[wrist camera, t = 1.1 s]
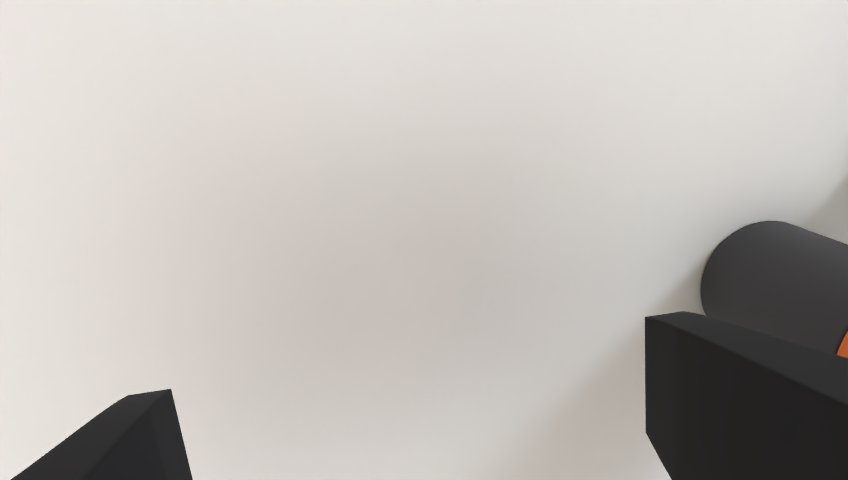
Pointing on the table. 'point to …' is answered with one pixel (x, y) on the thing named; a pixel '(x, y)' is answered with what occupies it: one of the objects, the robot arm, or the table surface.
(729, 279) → the grey and orange cylinder
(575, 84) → the table surface
